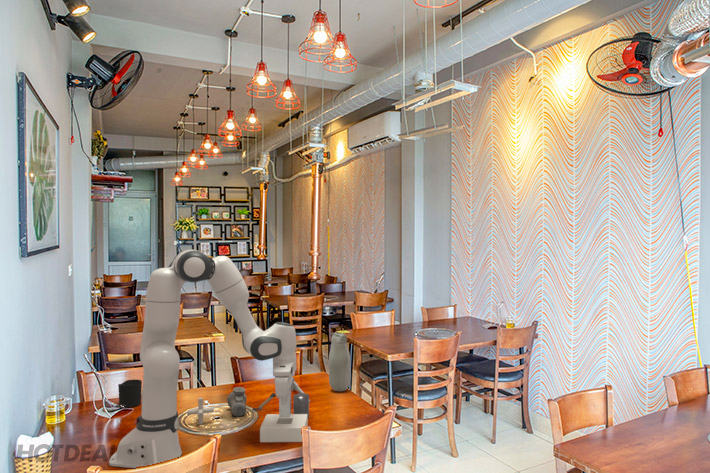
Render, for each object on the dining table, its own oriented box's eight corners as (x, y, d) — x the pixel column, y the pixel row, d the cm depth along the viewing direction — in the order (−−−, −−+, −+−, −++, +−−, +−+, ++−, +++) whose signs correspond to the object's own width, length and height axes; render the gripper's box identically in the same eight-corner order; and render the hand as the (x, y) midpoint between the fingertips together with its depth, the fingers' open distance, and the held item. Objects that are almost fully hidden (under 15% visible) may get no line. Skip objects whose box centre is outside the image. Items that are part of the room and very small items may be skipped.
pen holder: (116, 404, 216) (116, 381, 216) (138, 400, 221) (138, 378, 221) (120, 410, 208) (120, 387, 208) (144, 405, 214) (144, 383, 214)
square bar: (279, 417, 180) (279, 390, 180) (280, 413, 184) (280, 387, 184) (290, 417, 181) (289, 390, 181) (291, 413, 185) (291, 387, 185)
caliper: (290, 390, 236) (290, 377, 236) (292, 389, 236) (292, 376, 236) (308, 402, 218) (308, 388, 218) (310, 402, 219) (310, 388, 219)
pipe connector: (186, 429, 187) (186, 403, 187) (188, 420, 197) (188, 395, 197) (213, 426, 190) (213, 401, 190) (213, 417, 199) (213, 393, 199)
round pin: (292, 420, 196) (292, 398, 196) (294, 414, 203) (294, 393, 203) (308, 420, 196) (308, 398, 196) (309, 414, 203) (309, 393, 203)
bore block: (260, 442, 175) (260, 428, 175) (266, 427, 189) (266, 414, 189) (304, 441, 176) (304, 428, 176) (307, 426, 190) (307, 414, 190)
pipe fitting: (226, 407, 210) (228, 384, 209) (245, 407, 213) (247, 384, 212) (227, 420, 199) (230, 396, 198) (247, 419, 201) (250, 396, 200)
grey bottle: (353, 389, 236) (353, 332, 236) (342, 395, 227) (342, 335, 227) (336, 386, 241) (336, 330, 241) (325, 391, 232) (324, 333, 233)
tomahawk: (266, 414, 206) (266, 411, 206) (251, 411, 208) (252, 409, 208) (285, 397, 227) (285, 394, 227) (271, 394, 229) (271, 392, 229)
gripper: (280, 358, 193) (280, 393, 193) (272, 373, 172) (272, 411, 172) (296, 358, 193) (296, 392, 193) (289, 372, 172) (290, 411, 172)
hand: (285, 401), depth 183 cm, fingers closed on square bar, 4 cm apart
